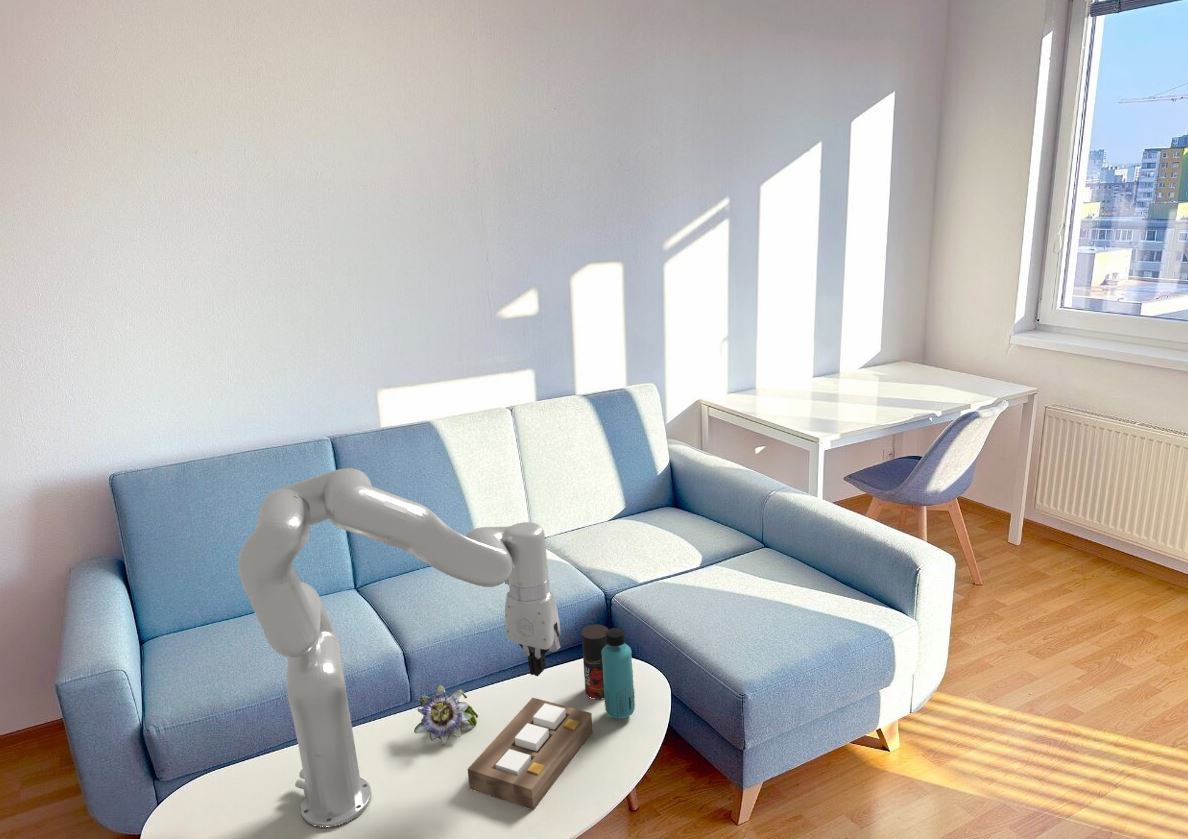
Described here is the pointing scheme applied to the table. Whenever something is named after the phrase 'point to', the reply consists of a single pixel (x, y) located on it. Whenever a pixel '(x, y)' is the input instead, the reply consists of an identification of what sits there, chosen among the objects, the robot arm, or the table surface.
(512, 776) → the keypad
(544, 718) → the key right
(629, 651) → the beverage bottle
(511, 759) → the key left
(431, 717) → the passion flower
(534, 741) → the key middle
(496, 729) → the table surface
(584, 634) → the deodorant
